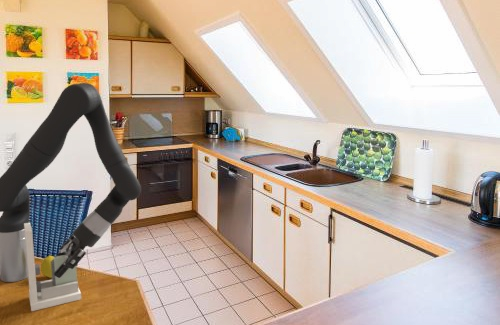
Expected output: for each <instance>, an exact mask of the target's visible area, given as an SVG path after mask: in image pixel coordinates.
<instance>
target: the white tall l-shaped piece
mask: <svg viewBox="0 0 500 325" xmlns="http://www.w3.org/2000/svg"><path fill="white" fill-rule="evenodd" d="M24 229H25V242H26V254H27V266H28V278H27V279H28V288H29V291H28V298H29V305H30V311H31V312H35V311H38V310H43V309H46V308H51V307H55V306H58V305H59V306H60V305H63V304H67V303H72V302H76V301H80V300H82V292H81V290H80V288H79V282H78V280H77V281H75V282H71V283H66V284H62V285H57V286H53V284H52V278H50V279H48V280H38V281H37V276H39V275H41V266H40V264H39V263H37V264H36V263H35V261H36V260H35V251H34V250H35V249H34V238H33V237H34V235H33V228H32V225H31V222H28V223H24Z"/></svg>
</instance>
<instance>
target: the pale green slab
mask: <svg viewBox="0 0 500 325" xmlns="http://www.w3.org/2000/svg"><path fill="white" fill-rule="evenodd" d="M65 256H66V255H62V256H57V255H56V256H53V261H51V269H52V278H51V279H52V284H53V286H57V285H62V284H66V283H71V282H75V281H77V282H78V275H77V274H78V273H77V271H78V270H77V265H76V266H75V267H74V268H73V269H71V268H69V269H68V270H67V271H66V272H65V273H64V274H63V275H62V276H61V277H60V278H58V277H56V276H55V275H54V272H55V271H56V270H57V269H58V268H59V267H60V266H61V265H62V264H63V262H64V261H65V259H66V257H65ZM70 263H71V262H70ZM74 263H75V262H74Z"/></svg>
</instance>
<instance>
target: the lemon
mask: <svg viewBox="0 0 500 325" xmlns="http://www.w3.org/2000/svg"><path fill="white" fill-rule="evenodd" d="M53 257H54V256H53V255H48V256H46V257H44V258H43V259H42V261H41V263H40V272H41V274H42V275H43V276H45V277H47V278H50V279H52V269H51V261H52V260H53Z"/></svg>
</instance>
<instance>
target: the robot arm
mask: <svg viewBox="0 0 500 325" xmlns="http://www.w3.org/2000/svg"><path fill="white" fill-rule="evenodd" d="M83 116H84V118H85V119H86V120H87V122H88V124H89V126H90V129H91V132H92V136H93V139H94V144H95V150H96V151H97V154H98V157H99V159H100V161H101V163H102V165H103V167H104V168H105V170H106V172H107V173H108V175H109V176H110V177H111V179H112V181H113V184H114V187H113V188H112V189H111V190H110V191H109V193H108V195H106V197H105V198H104V199H103V200H102V201H101V202H100V203H99V204H98V205H97V207H96V208H95V209H94V210H93V211H91V212H90V213H89V214H88V215H87V216H86V217H85V218H84V219H83V221H82V222H81V223H80V224H79V225H78V226H77V227H76V228H75V229H74V230H73V231H72V235H71V236H69V237H68V239H66V241H65V242H64V243H63V244H62V245H61V246H59V251H58V254H57V255H56V256H62V255H66V256H65V257H66V259H65V261H64V262H63V264H62V265H61V266H60V267H59V268H58V269H57V270H56V271H55V272H54V275H55V276H56V277H58V278H60V277H61V276H62V275H63V274H64V273H65V272H66V271H67V270H68V269H69V268H71V269H73V268H74V267H75V266H76V267H77V265H78V264H79V262H80V261H81V260H82V259H83V258H84V257H85V255H87V252H86V251H85V248H86V247H88V248H93V247H94V246H95V245H96V244H97V242H98V241H99V240H100V239H102V237H103V236H104V234H105V233H107V231H108V230H109V228H110V227H111V225H113V223H114V222H115V221H117V219H118V218H119V217H120V215H121V213H123V209H124V207H125V206H126V205H127V204H128V203H129V201H134V200H136V199H138V198H139V196H140V195H141V192H142V185H141V183H140V181H139V179H138V178H137V176H136V175H135V173H134V171H133V170H132V168H131V166H130V165H129V163H128V160H127V158H126V155H125V154H124V152H123V149H122V148H121V146H120V144H119V142H118V140H117V138H116V136H115V133H114V131H113V129H112V126H111V124H110V120H109V118H108V115H107V113H106V109H105V106H104V103H103V100H102V97H101V94H100V92H99V90H98V89H97V88H96V87H95V86H94V85H92V84H91V83H87V82H82V83H81V82H80V83H73V84H70V85H68V86H67V87H65V88H64V89H63V90H62V92H61V94H60V95H59V97H58V98H57V100H56V102H55V104H54V105H53V107H52V109H51V111H50V112H49V114H48V115H47V117H46V118H45V120H43V122H42V123H41V124H40V125H39V127H38V128H37V129H36V131H35V132H33V134H32V135H31V137H30V138H29V139H28V141H27V142H26V144H24V146H23V148H22V149H21V150H20V152H19V153H18V154H17V156H16V157H15V159H14V160H13V161H12V163H11V164H10V166H9V167H8V168H7V169H6V171H5V172H4V173H3V174H2V175H1V176H0V213H2V214H1V216H0V281H2V282H5V283H12V282H13V283H15V282H19V281H23V280H25V279H29V278H28V266H27V254H26V242H25V229H24V223H29V220H30V216H31V210H30V207H31V206H30V204H31V203H30V202H31V200H30V198H31V197H30V191H29V189H28V187H27V184H28V183H30V182H31V180H33V179H34V178H36V177H37V176H38V175H39V174H41V173H42V172H44V171H45V170H46V169H47V168H48V167H49V166H50V165H51V164H52V163H53V162H54V160H55V159H56V158H57V156H58V155H59V154H60V153H61V152H62V149H63V147H64V144H65V142H66V139H67V136H68V133H69V131H70V130H71V128H73V126H74V125H75V124H77V122H78V121H79V119H81V117H83ZM52 261H53V260H52ZM70 262H71V263H70ZM74 262H75V263H74Z"/></svg>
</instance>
